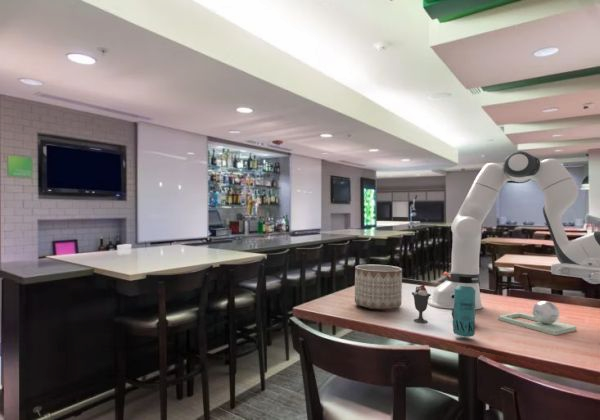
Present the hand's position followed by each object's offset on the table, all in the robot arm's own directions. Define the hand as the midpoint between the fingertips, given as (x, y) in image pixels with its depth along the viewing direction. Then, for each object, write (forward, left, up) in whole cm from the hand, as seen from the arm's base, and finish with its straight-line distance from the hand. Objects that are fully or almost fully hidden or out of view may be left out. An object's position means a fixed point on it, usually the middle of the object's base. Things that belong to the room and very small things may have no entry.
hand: (573, 273), depth 123 cm
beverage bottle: (-38, -10, -21) cm, 44 cm away
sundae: (-48, +7, -21) cm, 52 cm away
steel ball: (-5, +8, -15) cm, 18 cm away
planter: (-62, +26, -21) cm, 70 cm away
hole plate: (-7, +11, -20) cm, 24 cm away
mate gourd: (-33, +8, -21) cm, 40 cm away
